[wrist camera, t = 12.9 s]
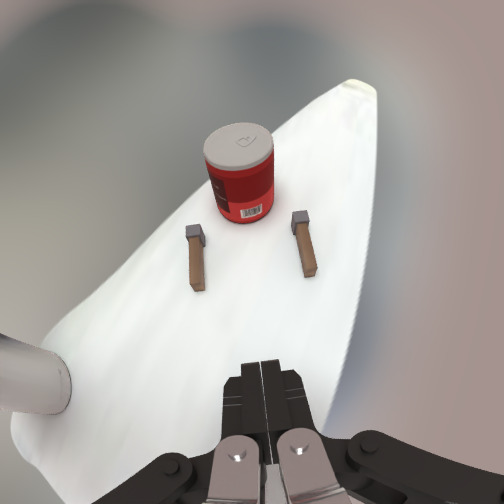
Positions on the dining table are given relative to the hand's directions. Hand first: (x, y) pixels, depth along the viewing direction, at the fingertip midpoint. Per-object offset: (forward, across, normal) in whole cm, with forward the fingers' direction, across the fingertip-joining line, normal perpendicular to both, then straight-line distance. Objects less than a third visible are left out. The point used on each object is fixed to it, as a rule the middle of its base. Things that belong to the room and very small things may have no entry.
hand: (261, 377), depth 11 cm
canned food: (+31, 0, -3) cm, 31 cm away
